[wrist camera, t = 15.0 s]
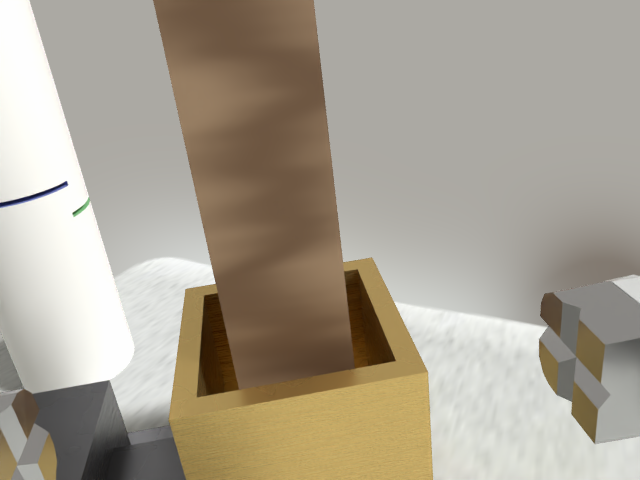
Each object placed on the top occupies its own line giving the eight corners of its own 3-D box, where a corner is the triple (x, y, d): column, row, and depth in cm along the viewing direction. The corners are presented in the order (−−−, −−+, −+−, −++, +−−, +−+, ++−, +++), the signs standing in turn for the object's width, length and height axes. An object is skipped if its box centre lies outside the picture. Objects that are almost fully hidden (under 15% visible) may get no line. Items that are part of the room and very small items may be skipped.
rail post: (254, 468, 22) (150, -4, 15) (250, 395, 25) (165, -10, 19) (365, 446, 22) (312, -25, 15) (345, 377, 26) (296, -27, 19)
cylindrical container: (-1, 381, 39) (-187, -43, 28) (86, 322, 44) (-41, -53, 33) (70, 411, 35) (-110, -62, 24) (156, 343, 41) (39, -69, 30)
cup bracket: (-49, 788, 19) (-214, 573, 15) (61, 460, 32) (-9, 290, 27) (494, 666, 20) (498, 434, 16) (392, 398, 33) (379, 226, 29)
